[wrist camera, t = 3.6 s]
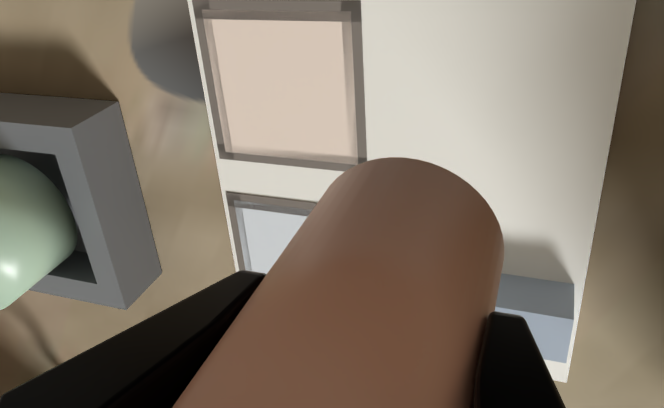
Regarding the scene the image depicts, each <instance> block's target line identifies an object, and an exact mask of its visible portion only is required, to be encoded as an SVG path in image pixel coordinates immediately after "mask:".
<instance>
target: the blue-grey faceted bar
mask: <svg viewBox="0 0 664 408" xmlns="http://www.w3.org/2000/svg"><path fill="white" fill-rule="evenodd" d="M495 311H497V312H504V313H510V314H516V315H520V316H522V317H524V319H525V320H526V322H527V324H528V326H529V329H530V331H531V333H532V335H533V337H534V339H535V342H536V344H537V346H538V348H539V350H540V353H541V355H542V357H543V359H545V360H550V361H556V362H561V363H566V362H567V356H568V350H569V345H570V339H571V333H572V328H573V322H574V284H570V283H563V282H557V281H550V280H543V279H536V278H529V277H523V276H516V275H509V274H502V273H501V278H500V284H499V290H498V295H497V301H496V306H495Z"/></svg>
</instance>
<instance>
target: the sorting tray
mask: <svg viewBox="0 0 664 408" xmlns="http://www.w3.org/2000/svg"><path fill="white" fill-rule="evenodd" d="M187 1H188V6H189V11H190V17H191V23H192V28H193V34H194V39H195V45H196V51H197V56H198V62H199V68H200V72H201V79H202V84H203V90H204V95H205V101H206V107H207V112H208V118H209V124H210V129H211V135H212V140H213V146H214V152H215V157H216V163H217V168H218V174H219V179H220V185H221V191H222V196H223V202H224V207H225V213H226V219H227V224H228V230H229V235H230V241H231V247H232V252H233V258H234V263H235V269H236V272H238V271H241V270H248V271H254V272H260V273H265V274H267V273H268V272H269V270H270V269H271V268H272V266H273V265H274V263H275V262H276V261H277V259H278V258H279V256H280V255H281V254H282V252H283V251H284V249H285V248H286V247H287V245H288V244H289V242H290V241H291V239H292V238H293V237H294V235H295V234H296V232H297V231H298V230H299V228H300V227H301V225H302V224H303V223H304V221H305V220H306V218H307V217H308V216H309V214H310V213H311V211H312V210H313V208H314V207H315V206H316V204H317V203H318V201H319V200H320V199H321V197H322V196H323V194H324V193H325V192H326V190H327V189H328V187H329V186H330V185H331V184H332V183H333V181H334V180H335V179H336V178H337V177H339V176H340V175H341V174H342V173H344V172H345V171H346V170H348V169H350V168H352V167H354V166H356V165H358V164H361V163H363V162H366V161H370V160H374V159H379V158H388V157H404V158H411V159H418V160H422V161H426V162H429V163H433V164H435V165H438V166H440V167H443V168H445V169H447V170H449V171H451V172H452V173H454V174H456V175H458V176H459V177H461V178H462V179H463V180H465V181H466V182H468V183H469V184H470V185H471V186H472V187H473V188H474V189H476V190H477V191H478V192H479V193H480V195H481V196H482V197H483V198H484V199H485V200H486V201H487V203H488V204H489V206H490V207H491V209H492V210H493V212H494V214H495V216H496V218H497V220H498V222H499V225H500V228H501V231H502V234H503V240H504V261H503V267H502V274H509V275H516V276H523V277H529V278H536V279H543V280H550V281H557V282H563V283H570V284H574V322H573V328H572V333H571V339H570V345H569V350H568V356H567V362H566V363H561V362H556V361H550V360H545V359H544V361H545V364H546V366H547V368H548V370H549V372H550V375H551V377H552V379H553V380H555V381H560V382H566V383H567V379H568V373H569V368H570V362H571V357H572V351H573V346H574V340H575V335H576V329H577V324H578V318H579V313H580V307H581V302H582V296H583V291H584V285H585V280H586V274H587V269H588V263H589V258H590V252H591V247H592V241H593V236H594V230H595V225H596V219H597V214H598V208H599V203H600V197H601V192H602V186H603V181H604V175H605V170H606V164H607V159H608V153H609V148H610V142H611V137H612V131H613V126H614V120H615V115H616V109H617V104H618V98H619V93H620V87H621V82H622V76H623V71H624V65H625V60H626V54H627V49H628V43H629V38H630V32H631V27H632V21H633V16H634V10H635V5H636V0H187Z"/></svg>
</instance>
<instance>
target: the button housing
mask: <svg viewBox="0 0 664 408" xmlns="http://www.w3.org/2000/svg"><path fill="white" fill-rule="evenodd" d="M0 154H6V155H11V156H14V157H17V158H19V159H21V160H24V161H26V162H27V163H29V164H31V165H32V166H34V167H35V168H37V169H38V170H39V171H41V172H42V173H43V174H44V175H45V176H46V177H47V178H49V179H50V180H51V181H52V182H53V184H54V185H55V186H56V187H57V188H58V189H59V191H60V192H61V194H62V195H63V196H64V198H65V200H66V201H67V203H68V205H69V207H70V209H71V211H72V213H73V216H74V218H75V222H76V226H77V244H76V247H75V249H74V251H73V252H72V254H71V255H70V256H69V257H68V258H66V259H65V260H64V261H63V262H62V263H60V264H59V265H58V266H57V267H55V268H54V269H53V270H52V271H51V272H49V273H48V274H47V275H46V276H44V277H43V278H42V279H41V280H40V281H38V282H37V283H36V284H35V285H33V286H32V287H31V288H30V289H29V290H32V291H36V292H41V293H46V294H51V295H56V296H61V297H66V298H70V299H75V300H80V301H85V302H90V303H95V304H100V305H104V306H109V307H114V308H119V309H124V310H127V309H128V308H129V307H130V306H131V305H132V304H133V303H134V302H135V301H136V299H137V298H138V297H139V296H140V295H141V294H142V293H143V292H144V291H145V290H146V289H147V288H148V287H149V286H150V285H151V284H152V283H153V282H154V281H155V280H156V279H157V278H158V277H159V276H160V275H161V274H162V270H161V267H160V263H159V259H158V255H157V251H156V247H155V243H154V239H153V235H152V231H151V227H150V223H149V220H148V216H147V212H146V208H145V204H144V200H143V196H142V192H141V188H140V184H139V180H138V176H137V172H136V169H135V165H134V161H133V157H132V153H131V149H130V145H129V141H128V137H127V133H126V129H125V125H124V122H123V118H122V114H121V110H120V106H119V102H118V101H107V100H93V99H79V98H66V97H52V96H38V95H25V94H11V93H0Z"/></svg>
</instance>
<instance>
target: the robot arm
mask: <svg viewBox="0 0 664 408" xmlns="http://www.w3.org/2000/svg"><path fill="white" fill-rule="evenodd" d="M266 275H267V274H265V273H260V272H254V271H248V270H241V271H238V272H236V273H234V274H232V275H230V276H228V277H226V278H224V279H222V280H221V281H219V282H217V283H215V284H213V285H211V286H209V287H207V288H205V289H203V290H201V291H199V292H198V293H196V294H194V295H192V296H190V297H188V298H186V299H184V300H182V301H180V302H178V303H177V304H175V305H173V306H171V307H169V308H167V309H165V310H163V311H161V312H159V313H157V314H156V315H154V316H152V317H150V318H148V319H146V320H144V321H142V322H140V323H138V324H136V325H134V326H133V327H131V328H129V329H127V330H125V331H123V332H121V333H119V334H117V335H115V336H113V337H112V338H110V339H108V340H106V341H104V342H102V343H100V344H98V345H96V346H94V347H92V348H90V349H89V350H87V351H85V352H83V353H81V354H79V355H77V356H75V357H73V358H71V359H69V360H67V361H66V362H64V363H62V364H60V365H58V366H56V367H54V368H52V369H50V370H48V371H46V372H44V373H43V374H41V375H39V376H37V377H35V378H33V379H31V380H29V381H27V382H25V383H23V384H21V385H20V386H18V387H16V388H14V389H12V390H10V391H8V392H6V393H4V394H3V395H2V396H1V398H0V408H172V407H173V406H174V404H175V403H176V401H177V400H178V399H179V397H180V396H181V394H182V393H183V392H184V390H185V389H186V387H187V386H188V384H189V383H190V382H191V380H192V379H193V377H194V376H195V375H196V373H197V372H198V370H199V369H200V368H201V366H202V365H203V363H204V362H205V361H206V359H207V358H208V356H209V355H210V353H211V352H212V351H213V349H214V348H215V346H216V345H217V344H218V342H219V341H220V339H221V338H222V337H223V335H224V334H225V332H226V331H227V330H228V328H229V327H230V325H231V324H232V323H233V321H234V320H235V318H236V317H237V315H238V314H239V313H240V311H241V310H242V308H243V307H244V306H245V304H246V303H247V301H248V300H249V299H250V297H251V296H252V294H253V293H254V292H255V290H256V289H257V287H258V286H259V285H260V283H261V282H262V280H263V279H264V277H265V276H266ZM473 408H566V407H565V405H564V403H563V401H562V399H561V396H560V394H559V392H558V390H557V388H556V386H555V383H554V381H553V379H552V377H551V375H550V372H549V370H548V368H547V366H546V364H545V361H544V359H543V357H542V355H541V353H540V350H539V348H538V346H537V344H536V342H535V339H534V337H533V335H532V333H531V331H530V329H529V326H528V324H527V322H526V320H525V319H524V317H522V316H520V315H516V314H510V313H504V312H497V311H493V312H491V313H490V314H489V316H488V320H487V324H486V329H485V333H484V338H483V342H482V347H481V351H480V356H479V361H478V365H477V370H476V376H475V384H474V397H473Z"/></svg>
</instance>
